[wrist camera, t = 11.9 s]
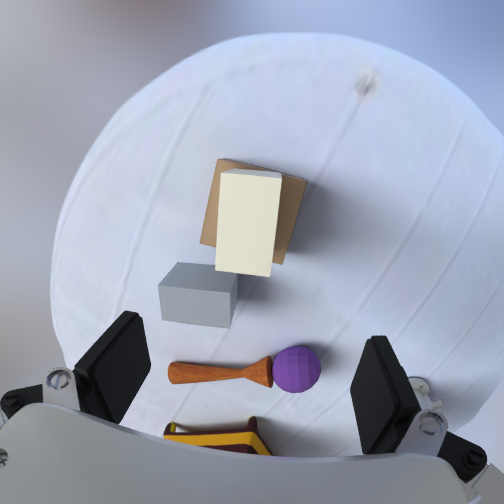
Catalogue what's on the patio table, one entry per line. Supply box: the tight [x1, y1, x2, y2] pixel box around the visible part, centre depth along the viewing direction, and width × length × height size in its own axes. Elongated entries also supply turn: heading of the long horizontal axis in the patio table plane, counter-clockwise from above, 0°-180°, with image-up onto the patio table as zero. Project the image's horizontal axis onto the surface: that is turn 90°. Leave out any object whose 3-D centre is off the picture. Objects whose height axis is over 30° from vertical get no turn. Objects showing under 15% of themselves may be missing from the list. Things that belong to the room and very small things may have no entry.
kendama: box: [168, 346, 321, 393], centre depth 33 cm, size 6×6×20 cm
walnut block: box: [200, 159, 307, 265], centre depth 27 cm, size 8×8×4 cm
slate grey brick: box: [158, 262, 238, 329], centre depth 29 cm, size 7×4×6 cm, turn 87°
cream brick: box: [215, 168, 282, 277], centre depth 22 cm, size 7×4×6 cm, turn 175°
